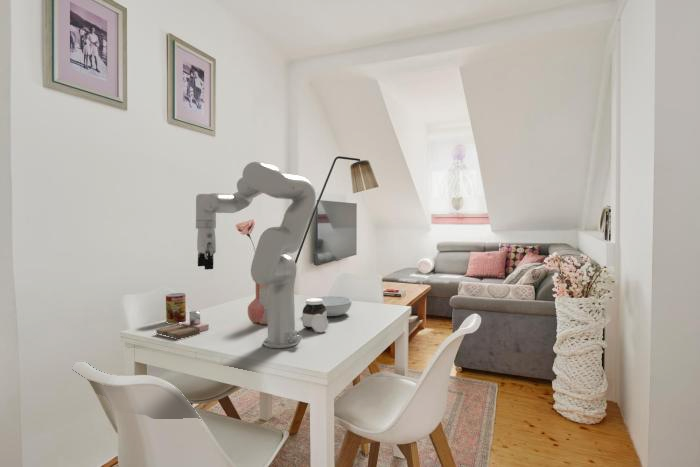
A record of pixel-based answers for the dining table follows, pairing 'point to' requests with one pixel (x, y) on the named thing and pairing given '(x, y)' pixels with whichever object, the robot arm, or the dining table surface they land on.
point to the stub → (196, 321)
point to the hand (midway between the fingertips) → (205, 267)
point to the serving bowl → (336, 304)
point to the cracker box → (263, 302)
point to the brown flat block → (178, 331)
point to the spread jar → (315, 315)
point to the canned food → (175, 308)
